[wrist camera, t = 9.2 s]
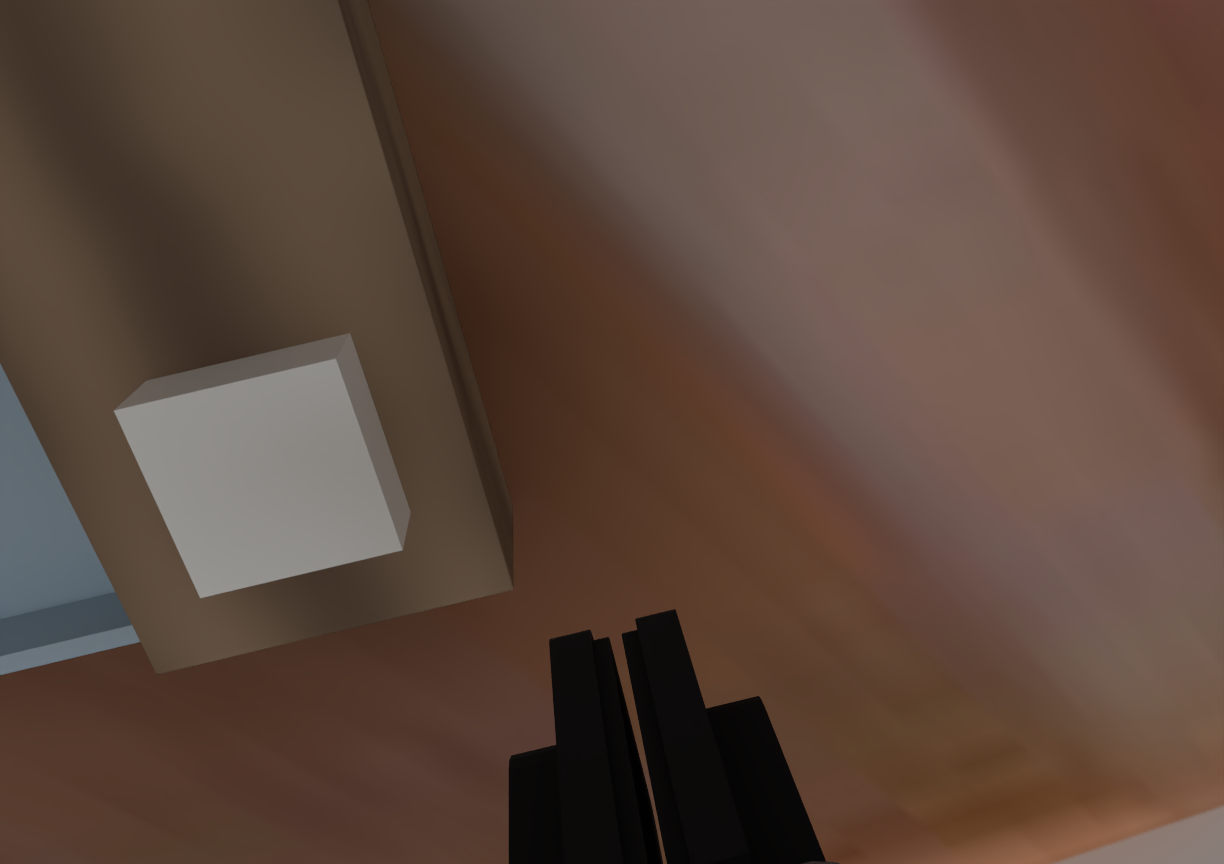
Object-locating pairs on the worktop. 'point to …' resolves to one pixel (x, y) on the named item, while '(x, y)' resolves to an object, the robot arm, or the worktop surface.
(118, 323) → the tan slab
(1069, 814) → the worktop surface
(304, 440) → the tile
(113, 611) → the box
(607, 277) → the worktop surface
